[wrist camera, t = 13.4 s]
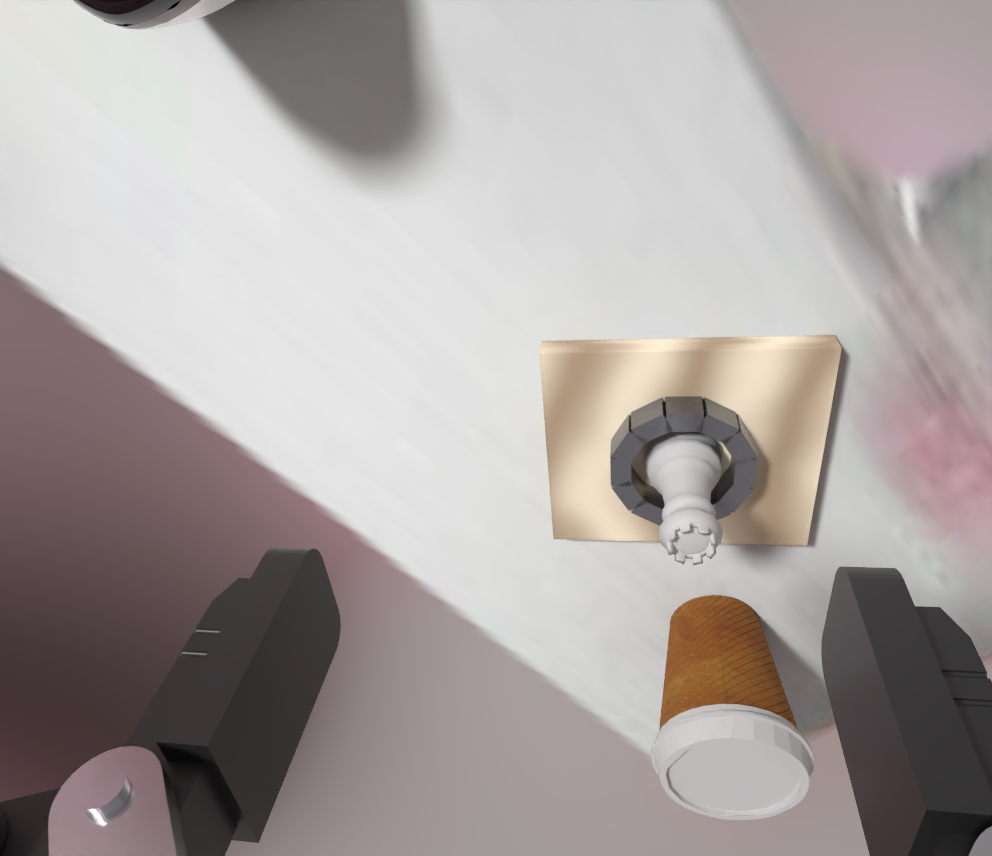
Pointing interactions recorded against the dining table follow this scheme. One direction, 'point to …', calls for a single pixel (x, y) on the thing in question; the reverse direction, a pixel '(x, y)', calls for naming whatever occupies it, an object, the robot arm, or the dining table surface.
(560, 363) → the birch base plate
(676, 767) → the disposable coffee cup
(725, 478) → the steel socket collar
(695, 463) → the rook chess piece
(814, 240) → the dining table surface
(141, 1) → the spread jar
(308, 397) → the dining table surface
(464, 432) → the dining table surface
